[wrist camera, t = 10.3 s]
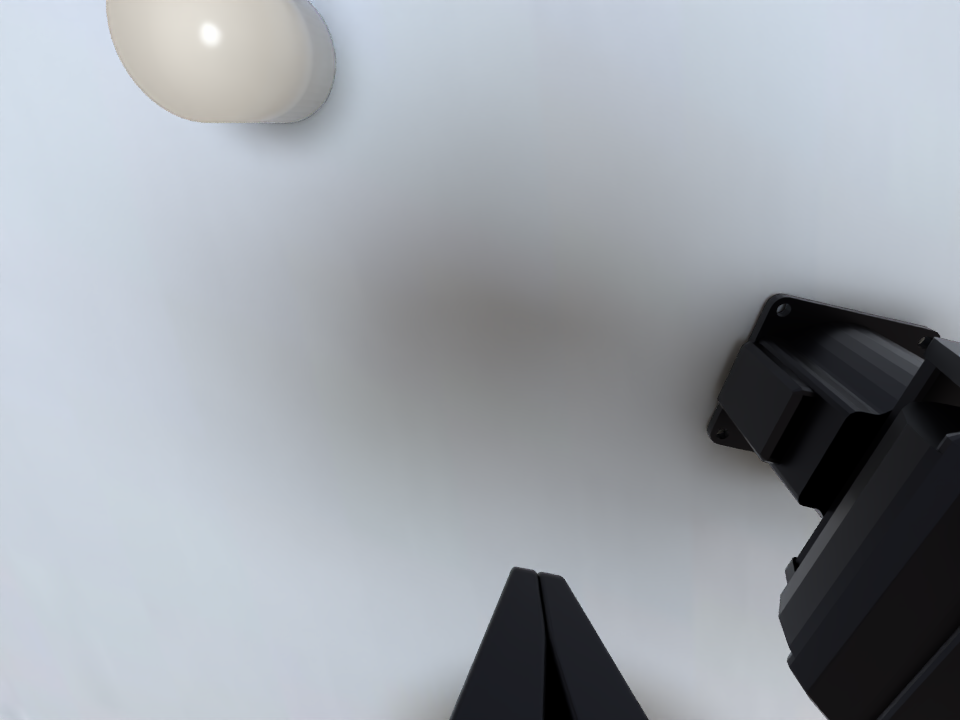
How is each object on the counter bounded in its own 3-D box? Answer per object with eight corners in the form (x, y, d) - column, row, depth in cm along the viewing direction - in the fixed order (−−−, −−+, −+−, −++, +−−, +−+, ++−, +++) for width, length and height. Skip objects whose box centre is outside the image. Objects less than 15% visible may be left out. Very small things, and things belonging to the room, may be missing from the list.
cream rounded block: (341, -1, 16) (275, -50, 12) (330, 135, 18) (268, 138, 13) (215, -32, 16) (98, -93, 12) (215, 108, 18) (113, 102, 13)
